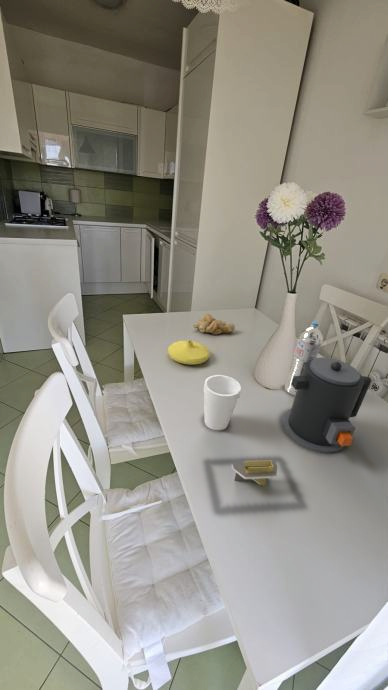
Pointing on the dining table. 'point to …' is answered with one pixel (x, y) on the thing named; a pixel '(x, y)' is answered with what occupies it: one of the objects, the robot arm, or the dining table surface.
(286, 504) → the dining table surface
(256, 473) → the platform
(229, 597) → the dining table surface
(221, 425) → the foam cup
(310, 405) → the kettle
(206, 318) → the ginger root
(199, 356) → the yellow knobbed round disc
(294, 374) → the water bottle
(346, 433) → the kettle switch
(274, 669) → the dining table surface
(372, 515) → the dining table surface
